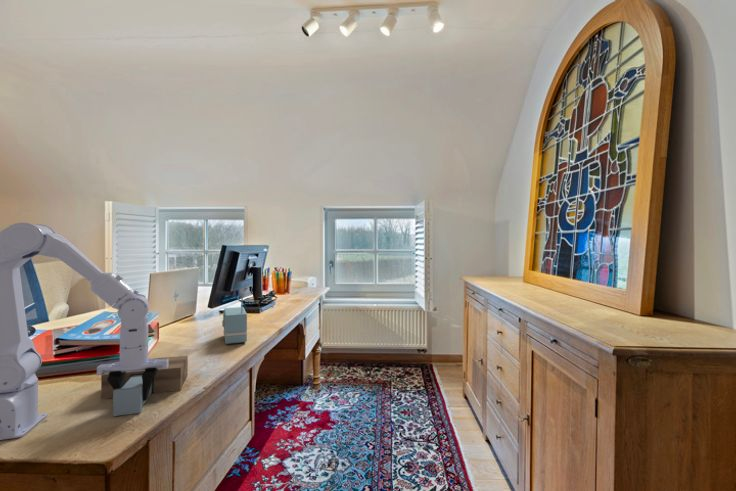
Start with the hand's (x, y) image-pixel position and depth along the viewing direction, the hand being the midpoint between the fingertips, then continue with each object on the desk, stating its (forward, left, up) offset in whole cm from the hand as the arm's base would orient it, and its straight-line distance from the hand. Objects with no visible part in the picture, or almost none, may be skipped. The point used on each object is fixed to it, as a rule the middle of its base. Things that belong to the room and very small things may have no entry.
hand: (133, 400), depth 83 cm
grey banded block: (+53, -20, -2) cm, 57 cm away
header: (+11, 0, -1) cm, 12 cm away
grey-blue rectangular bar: (+4, 0, -1) cm, 4 cm away
